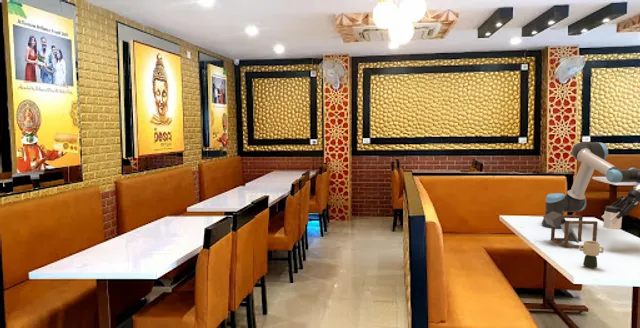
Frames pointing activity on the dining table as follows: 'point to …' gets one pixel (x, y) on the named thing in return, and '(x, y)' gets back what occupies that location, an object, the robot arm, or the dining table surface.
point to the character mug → (591, 253)
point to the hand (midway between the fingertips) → (607, 219)
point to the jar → (609, 213)
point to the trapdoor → (560, 223)
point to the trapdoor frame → (580, 222)
